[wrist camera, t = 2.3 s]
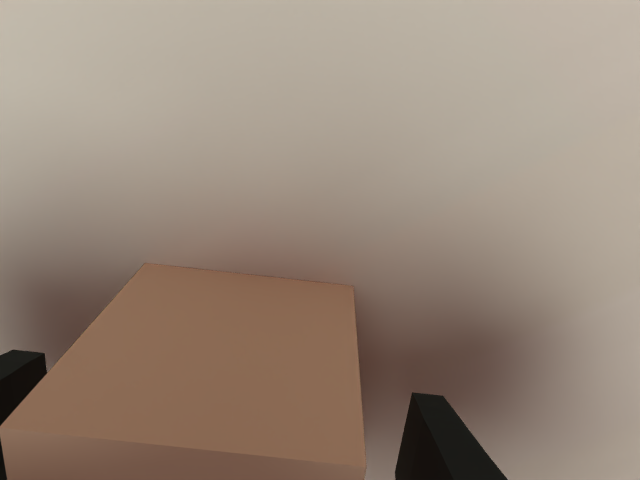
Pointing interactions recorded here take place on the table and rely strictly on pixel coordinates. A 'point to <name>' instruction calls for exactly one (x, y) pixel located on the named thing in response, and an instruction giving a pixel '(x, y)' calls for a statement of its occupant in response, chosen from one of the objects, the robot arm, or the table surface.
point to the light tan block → (200, 386)
